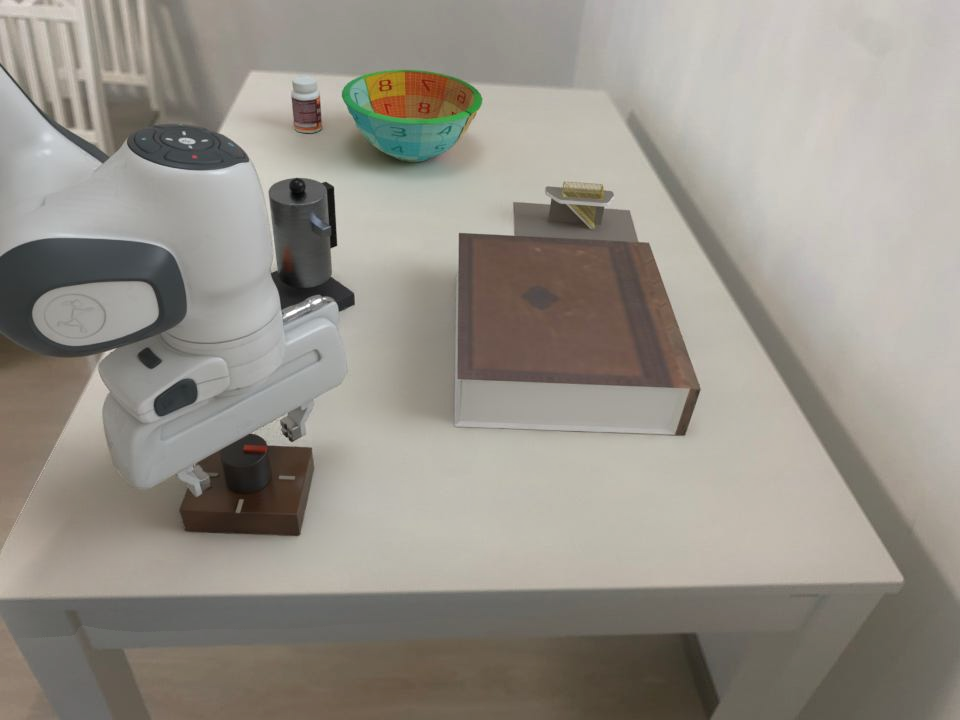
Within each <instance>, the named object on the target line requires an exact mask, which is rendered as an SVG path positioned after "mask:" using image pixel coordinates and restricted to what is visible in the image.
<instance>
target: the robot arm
mask: <svg viewBox="0 0 960 720" xmlns="http://www.w3.org/2000/svg"><path fill="white" fill-rule="evenodd" d="M268 213H269V212H268V208H267V202H266V199H265V194H264V191H263V187H262V182H261V179H260V177H259V173H258V171H257V169H256V167H255V165H254V162H253V161H252V159H251V157H250V156H249V155H248V153H247V152H246V151H245V150H244V149H243V148H242V147H241V146H240V145H239V144H238V143H236V142H235V141H234V140H232V139H230V138H229V137H228V136H227V135H224V134H222V133H219V132H217V131H214V130H210V129H208V128H206V127H203V126H198V125H192V124H183V123H161V124H160V123H159V124H155V125H154V124H153V125H150V126H146V127H141V128H139V129H137V130H135V131H133V132H132V133H130V134H129V135H128V136H127V137H126V139H125V140H124V142H123V144H122V145H121V146H120V147H119V149H118V150H117V151H116V152H114V153H113V154H112V155H111V156H109V155H108V154H107V153H105V152H104V151H103V150H102V149H100V148H99V147H97V146H95V145H94V144H92V143H91V142H90V141H88V140H86V139H84V138H83V137H81V136H79V135H78V134H76V133H74V132H73V131H72V130H69V128H66V127H64V126H63V125H61V124H60V123H59V122H58V121H56V120H55V119H53V118H52V117H50V116H49V115H48V114H47V113H46V112H45V111H43V110H42V109H41V108H40V106H38V105H37V104H36V103H35V101H33V99H32V98H31V97H30V96H29V95H28V93H27V92H26V91H25V90H24V89H23V88H22V87H21V86H20V84H19V83H18V82H17V81H16V79H15V78H14V77H13V76H12V75H11V73H10V72H9V71H8V70H7V69H6V68H5V67H4V65H3V64H2V63H1V62H0V334H2V335H3V336H4V337H5V338H7V339H8V340H9V341H10V342H13V343H14V344H16V345H17V346H20V347H22V348H23V349H26V350H28V351H31V352H33V353H36V354H41V355H43V356H48V357H55V358H65V359H66V358H67V359H69V358H70V359H72V358H73V359H74V358H83V357H89V356H94V355H98V354H102V353H106V352H108V351H111V352H110V353H109V354H107V355H106V356H105V357H103V358H102V359H101V360H100V362H99V363H98V365H97V371H98V375H99V376H100V379H101V381H102V382H103V384H104V385H105V387H106V389H107V390H108V394H107V395H106V397H105V399H104V401H103V403H102V404H103V405H102V411H101V412H102V413H101V414H102V416H101V417H102V423H103V431H104V436H105V440H106V445H107V448H108V449H107V450H108V452H109V456H110V459H111V462H112V463H113V466H114V467H115V469H116V471H117V472H118V473H119V474H120V476H121V477H122V478H123V480H125V482H126V483H127V484H128V485H129V486H130V487H132V488H135V489H138V490H142V491H147V490H149V489H151V488H154V487H155V486H157V485H159V484H161V483H162V482H164V481H166V480H168V479H170V478H172V477H173V476H175V477H176V478H177V479H178V480H179V481H181V482H184V483H185V486H186V487H187V488H188V489H189V490H190V491H191V492H192V493H193V495H194V496H195V497H198V496H200V495H201V494H203V493H204V492H206V491H208V490H210V489H211V488H212V485H211V483H210V482H211V479H210V476H209V475H208V474H207V473H206V472H204V471H203V468H202V467H201V466H200V465H197V466H196V464H197V462H199V461H201V460H203V459H205V458H206V457H208V456H210V455H212V454H214V453H216V452H217V451H219V450H221V449H223V448H225V447H227V446H228V445H230V444H232V443H234V442H236V441H238V440H239V439H241V438H243V437H245V436H247V435H249V434H253V433H254V432H256V431H258V430H259V429H262V428H263V427H266V425H267V426H268V425H269V424H270V423H272V422H274V421H276V420H278V419H279V423H280V424H279V425H280V427H281V428H280V430H281V433H282V435H283V436H284V437H285V438H288V441H289V442H290V443H293V442H295V441H297V440H299V439H301V438H302V437H304V436H306V435H307V429H306V422H307V421H308V419H309V416H310V414H311V412H312V410H313V408H314V407H315V399H316V398H319V397H320V396H322V395H324V394H325V393H327V392H329V391H331V390H333V389H335V388H336V387H338V386H340V385H341V384H342V383H343V382H344V380H345V379H346V376H347V374H348V371H349V368H348V360H347V355H346V350H345V346H344V342H343V339H342V335H341V332H340V330H339V328H338V327H339V323H340V311H339V310H338V305H337V303H336V302H335V300H334V299H332V298H331V297H322V296H321V295H314V296H311V297H309V298H307V299H305V301H303V302H301V303H299V304H296V305H292V306H289V307H287V308H285V309H282V310H281V304H280V297H279V293H278V290H277V287H276V285H275V283H274V281H273V279H272V277H271V273H272V265H273V260H274V245H273V244H274V243H273V240H272V239H273V238H272V237H273V236H272V230H271V225H270V224H271V223H270V219H269V214H268ZM283 416H284V417H283ZM282 417H283V418H282Z"/></svg>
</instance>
